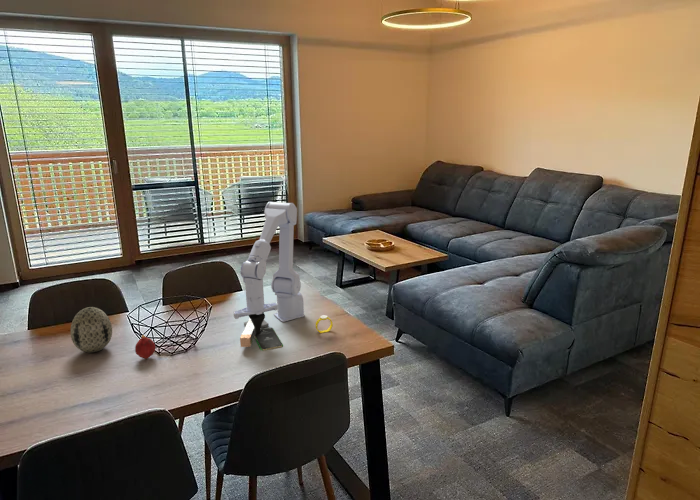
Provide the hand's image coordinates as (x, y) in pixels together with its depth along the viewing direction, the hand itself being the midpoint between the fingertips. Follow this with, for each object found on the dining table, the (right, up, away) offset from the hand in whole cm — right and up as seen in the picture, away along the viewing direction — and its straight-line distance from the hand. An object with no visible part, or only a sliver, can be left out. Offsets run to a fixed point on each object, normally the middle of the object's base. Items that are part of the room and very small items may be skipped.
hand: (257, 333), depth 158 cm
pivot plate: (-3, +1, +12) cm, 13 cm away
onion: (-33, -6, -10) cm, 35 cm away
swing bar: (-3, 0, +4) cm, 5 cm away
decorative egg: (-52, -5, -5) cm, 52 cm away
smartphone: (+3, -3, +2) cm, 5 cm away
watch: (+22, -1, +7) cm, 23 cm away
